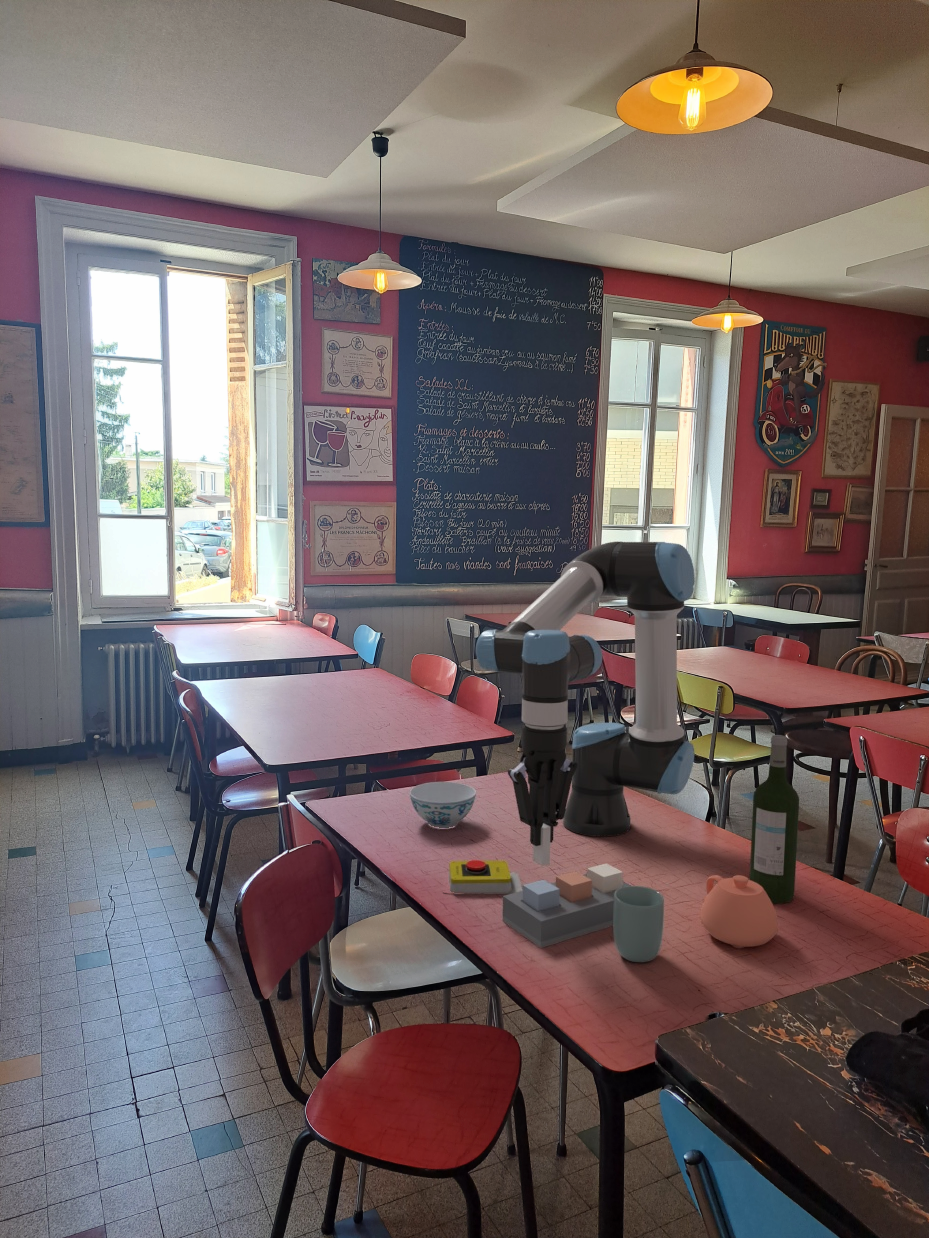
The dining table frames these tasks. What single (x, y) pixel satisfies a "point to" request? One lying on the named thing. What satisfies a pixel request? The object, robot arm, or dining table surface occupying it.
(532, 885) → the blue key
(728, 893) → the sugar bowl
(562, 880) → the orange key
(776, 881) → the wine bottle
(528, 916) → the key panel
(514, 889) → the emergency button
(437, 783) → the chinaware
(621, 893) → the cup
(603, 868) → the ivory key
